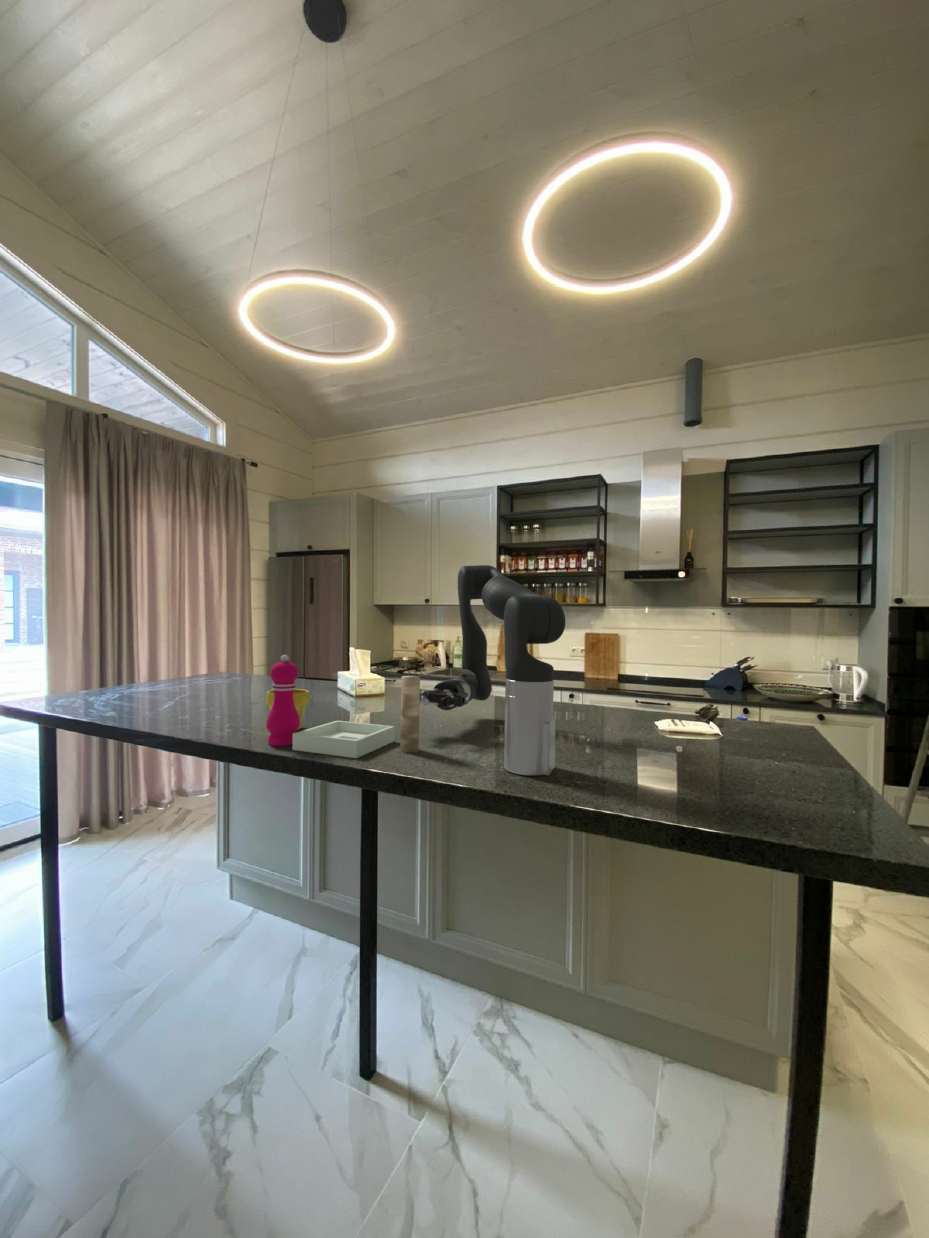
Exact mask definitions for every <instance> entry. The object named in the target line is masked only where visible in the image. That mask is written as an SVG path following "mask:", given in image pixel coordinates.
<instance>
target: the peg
mask: <svg viewBox="0 0 929 1238" xmlns="http://www.w3.org/2000/svg"><path fill="white" fill-rule="evenodd" d="M400 679H401V680H400V681H401V687H400V688H401V689H400V690H401V691H400V744H399V745H400V746H399V748H400V752H401V753H405V754H413V753H418V752H419V751H420V705H421V703H420V690H421V683H420V682H421V676H418V675H402V676H401V678H400Z"/></svg>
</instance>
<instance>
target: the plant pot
mask: <svg viewBox="0 0 929 1238" xmlns="http://www.w3.org/2000/svg"><path fill="white" fill-rule="evenodd" d="M265 696H266V699H265V700H266V701H265V703H266V706H268V710H269V712H270V711H271V709H272V706H273V703H274V690H273V689H270V690H268V691H266V695H265ZM293 700H294V705H295V708H296V710H297V712H298V714H299V718H300V726H299V728H298V729H299V730H301V728H302V723H303V720H304V715H305V712H306V711H305V710H306V709H307V705H309V701H310V691H309V690H308V689H303V688H296V689H294V693H293ZM298 729H297V731H299V730H298Z"/></svg>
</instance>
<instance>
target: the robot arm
mask: <svg viewBox="0 0 929 1238" xmlns="http://www.w3.org/2000/svg"><path fill="white" fill-rule="evenodd" d="M457 595H458V606H459V616H460V625H461V633H462V637H461V638H462V651H461V652H462V654H461V660H462V661H461V662H462V667H463V668H464V669H466V670H468V671H469V672H472V673H467V672H464V673H460V674H459V675H458V677H457V678H456V677H455V678H450V679H446V680H441V681H439V682H437V683H436V684H435V685H434V687H433V688H431V689H425V690H424V689H423V690H422V689H420V705H424V706H429V705H433V706H436V707H437V708H439V709H440V710H442V711H451V710H454V709H456V708H460V707H461V708H462V707H464V706H466V705H468V704H469V702H470V701H472V700H476V701H482V702H483V701H486V700H488V699H489V697H490V696H491V693H492V688H493V686H492V680H491V676H490V673H489V667H488V662H487V659H488V658H487V655H488V642H487V641H488V640H487V637H486V634H485V632H484V630H483V629H482V627H481V625H480V624H479V622H478V620H477V619H476V617H475V615H474V613H473V609H472V603H471V601H472V600H482V604H483V605H484V607H485V609H486V610H487V611H488V612H489V613H491V614H492V616H494V617H496V618H498V619H500V620H502V621H503V633H504V637H503V638H504V664H505V665H504V666H505V686H504V687H505V692H504V693H505V697H504V747H503V748H504V750H503V751H504V753H503V754H504V755H503V759H504V760H503V762H504V763H503V768H504V769H505V770H506V771H507V772H509V773H513V774H516V775H522V776H550V775H551V773H552V772H553V771H554V769H555V768H556V764H555V763H556V718H554V695H555V694H554V691H555V690H554V687H555V686H554V683H555V669H554V666H553V665H552V664H550V663H547V662H545V661H542V660H540V659H538V658H536V657H534V656H533V655H531V653H530V652H529V650H528V645H547V644H551V643H555V642H556V641H558V640H559V639H560V638H561V637H562V636H563V634H564V631H565V629H566V616H565V611H564V609H563V607H562V605H561V604H560V603H559V602H558V600H557V599H555V598H554V597H552V596H548V595H547V596H546V595H543V594H538V593H536V592H534V591H533V590H530V589H529V588H527V587H525V586H523V584H520V583H518V582H517V581H515V580H514V579H511V578H509V577H507V576H505V575H503V574H502V573H501V572H500V571H499V570H498V569H497V568H496V567H494V566H493V565H488V564H483V565H481V564H480V565H464V566H461V567H460V568H459V570H458V574H457Z"/></svg>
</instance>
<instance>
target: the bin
mask: <svg viewBox="0 0 929 1238" xmlns="http://www.w3.org/2000/svg"><path fill="white" fill-rule="evenodd" d="M395 731H396V727H395V726H394V725H385V724H377V723H375V724H374V723H367V722H366V723H365V722H357V721H356V722H355V721H346V720H345V721H344V720H334V721H331V722H327V723H324V724H320V725H318V726H317V725H316V726H313V727H311V728H307V729H303V730H299V731H296V732H295V733H293V745H292V751H297V752H298V751H299V752H306V753H315V754H322V755H328V756H329V755H330V756H337V757H343V758H350V759H352V758H353V759H358V758H360V757H362V756H365V755H367V754H368V753H371V752H374V751H376V750H379V749H380V748H383V747H385V746H387V745H389V743H390V744H392V743H394V742H395V741H396V740H395V739H396V738H395V735H396V733H395ZM382 746H383V747H382Z"/></svg>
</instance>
